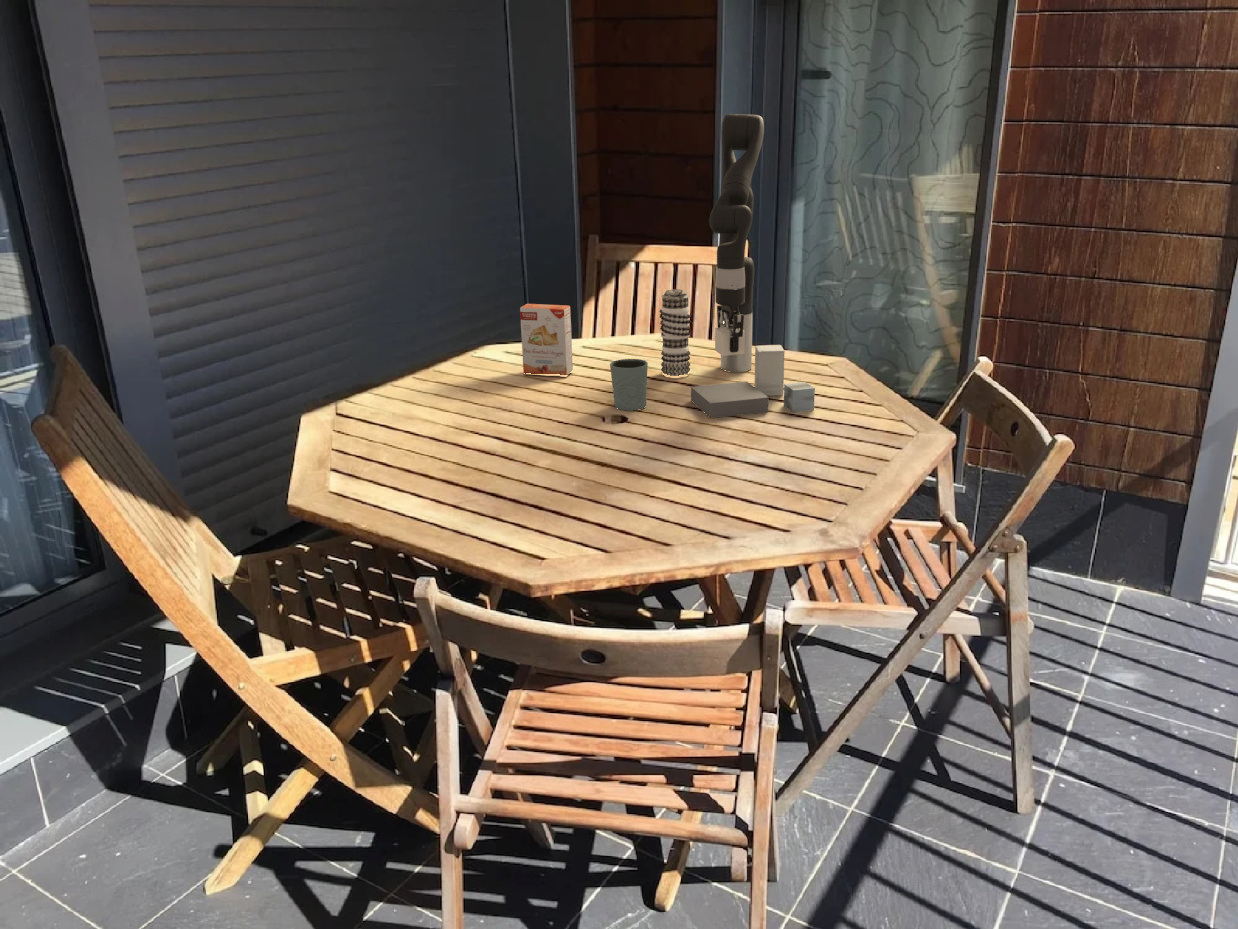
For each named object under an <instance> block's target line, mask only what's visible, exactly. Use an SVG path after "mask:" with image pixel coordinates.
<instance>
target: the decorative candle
mask: <svg viewBox="0 0 1238 929" xmlns="http://www.w3.org/2000/svg"><path fill="white" fill-rule="evenodd" d="M661 298H662V301H661V302H662V304H661V305H662V306H661V309H660V310H659V311H658V312H659V313H660V314H659V318H660V322H659V325H660V328H659V329H660V331H661V333H660V337H661V338H662V345H661V346H662V347H661V349H662V350H661V352H660V353H661V354H660V355H661V358H660V359H661V360H662V361H661V363H660V365H661V369H660V371H661V372H663V373H664V374H667V375H670V376H679V375H684V374H689V373H688V372H690V371H691V368H690V367H691V362H690V359H691V356H690V354H691V351H690V345H689V338H690V336H691V334H692V333H691V332H689V331H690V330H691V327H690V326H689V325H690V324H691V323H692V321H691V320H690V318H692V315H691V314H689V311H690V306H689V298H690V294H688V293H687V292H686V290H684V289H679V288H674V289H668V290H666V291H665V292H664V294H663V295H661Z"/></svg>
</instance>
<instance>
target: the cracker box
mask: <svg viewBox="0 0 1238 929" xmlns="http://www.w3.org/2000/svg"><path fill="white" fill-rule="evenodd" d="M519 310H520V311H519V312H520V313H519V316H520V332H521V333H520V335H521V352H522V354H521V355H522V368H523V374H524V373H525V374H526V373H531V374H560V375H567V374H569V373H570V372H571V371H572V370H573V369H574V368H573V366H574V365H573V344H572V342H573V341H572V321H571V320H572V319H571V318H572V317H571V316H572V315H571V306H570V305H566V304H565V305H562V304H561V305H560V304H543V303H542V304H540V303H539V304H537V303H526V304H524V305H522V306H520V308H519Z"/></svg>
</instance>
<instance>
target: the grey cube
mask: <svg viewBox="0 0 1238 929" xmlns="http://www.w3.org/2000/svg"><path fill="white" fill-rule="evenodd" d="M815 391H816V388H815V387H813V386H812V385H811V384H809V383H808V382H804V381H803V382H793V383H784V387H783V406H784V407H785V408H786V409H788V410H789V411H790V412H792V413H797V412H806V411H814V410H815V398H816V397H815V394H816V393H815Z"/></svg>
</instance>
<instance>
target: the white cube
mask: <svg viewBox="0 0 1238 929" xmlns="http://www.w3.org/2000/svg"><path fill="white" fill-rule="evenodd" d="M739 331H740V328H739ZM714 351H716V353H718V354H719V355H720V356H721V355H722V356H727V355H737V354H745V331H744V330H743V336H742V337H740V338H739V350H738V352H730V335H729V330H727V327H724V328H718V327H715V328H714Z"/></svg>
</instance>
